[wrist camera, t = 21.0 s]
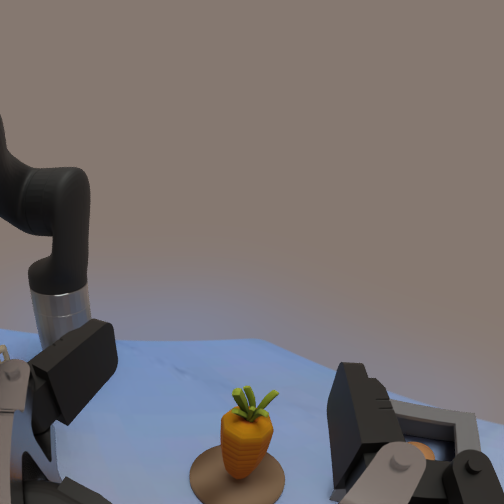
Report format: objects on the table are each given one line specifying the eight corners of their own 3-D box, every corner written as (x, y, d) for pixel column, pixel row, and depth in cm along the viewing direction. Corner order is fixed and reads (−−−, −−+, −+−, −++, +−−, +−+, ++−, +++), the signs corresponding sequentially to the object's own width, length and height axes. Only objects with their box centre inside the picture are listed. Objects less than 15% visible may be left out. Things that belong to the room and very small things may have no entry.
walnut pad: (170, 484, 23) (170, 481, 23) (222, 435, 33) (223, 432, 33) (256, 530, 18) (257, 527, 18) (298, 467, 28) (299, 463, 28)
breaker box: (329, 499, 22) (344, 476, 21) (359, 420, 36) (371, 394, 35) (458, 516, 14) (484, 493, 13) (458, 438, 28) (474, 413, 27)
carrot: (262, 467, 27) (286, 377, 24) (254, 498, 22) (278, 413, 19) (222, 457, 28) (232, 365, 25) (210, 486, 23) (215, 398, 20)
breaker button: (386, 478, 24) (392, 469, 23) (392, 447, 29) (398, 438, 29) (426, 483, 21) (433, 475, 21) (429, 453, 26) (435, 444, 26)
